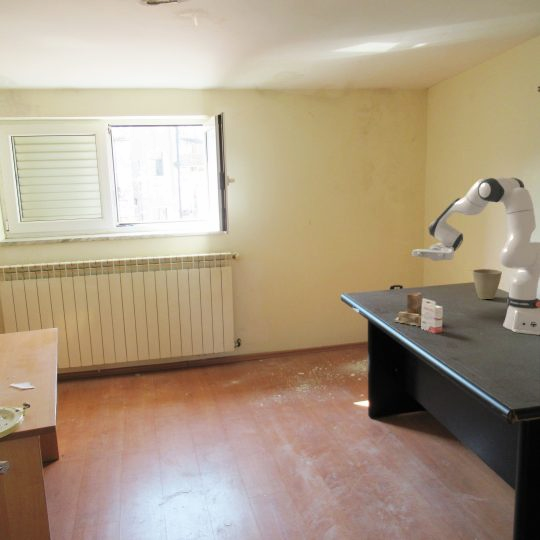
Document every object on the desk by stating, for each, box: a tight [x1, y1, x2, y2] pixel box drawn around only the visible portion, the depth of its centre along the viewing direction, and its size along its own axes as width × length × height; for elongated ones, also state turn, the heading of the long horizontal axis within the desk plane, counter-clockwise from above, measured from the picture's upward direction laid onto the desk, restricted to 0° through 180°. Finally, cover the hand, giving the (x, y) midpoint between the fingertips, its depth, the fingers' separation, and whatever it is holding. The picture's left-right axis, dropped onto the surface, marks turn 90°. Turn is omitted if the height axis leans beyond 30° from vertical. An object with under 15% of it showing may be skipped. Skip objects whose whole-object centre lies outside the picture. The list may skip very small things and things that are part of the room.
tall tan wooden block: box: [406, 291, 423, 315], centre depth 230 cm, size 5×7×12 cm, turn 143°
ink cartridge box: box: [420, 297, 444, 334], centre depth 214 cm, size 9×5×15 cm, turn 27°
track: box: [393, 310, 422, 327], centre depth 230 cm, size 14×15×6 cm
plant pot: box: [472, 268, 502, 300], centre depth 268 cm, size 15×15×16 cm
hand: (427, 256), depth 238 cm, fingers open, 8 cm apart
